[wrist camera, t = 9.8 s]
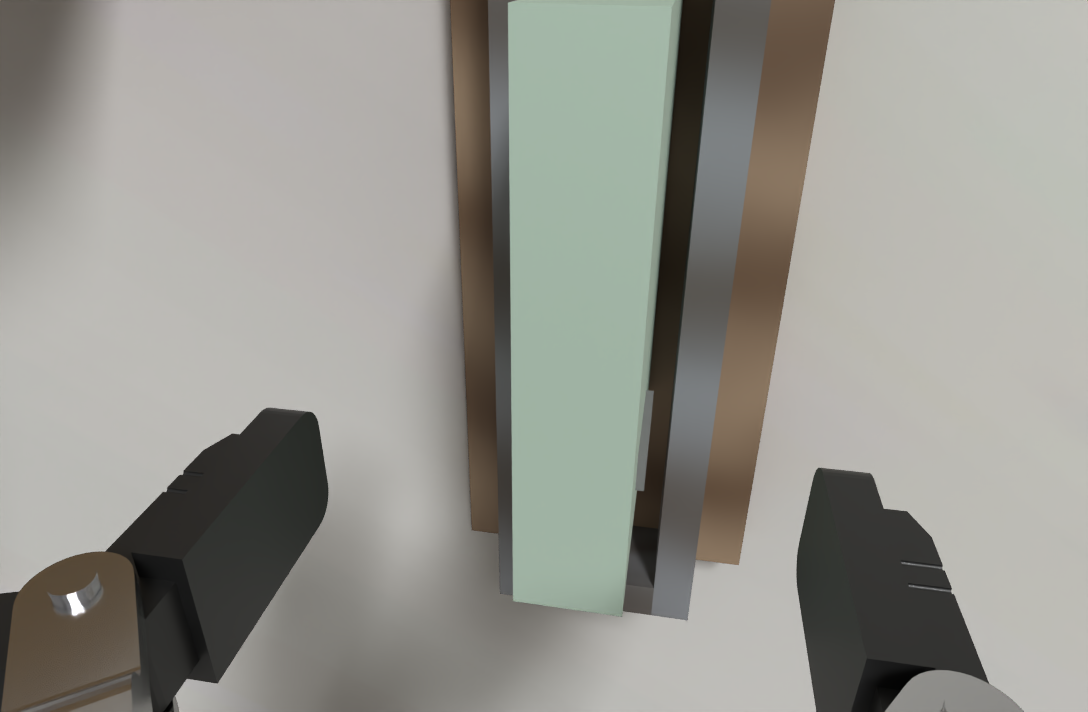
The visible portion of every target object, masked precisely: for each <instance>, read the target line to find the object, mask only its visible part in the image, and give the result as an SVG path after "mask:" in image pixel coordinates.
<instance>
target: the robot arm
mask: <svg viewBox="0 0 1088 712" xmlns="http://www.w3.org/2000/svg"><path fill="white" fill-rule="evenodd" d="M327 502H328V482H327V476H326V469H325V463H324V456H323V450H322V443H321V437H320V431H319V425H318V421H317V418H316V416H315V415H314V414H313V413H312V412H305V411H296V410H286V409H277V408H266V409H264V410H263V411H261V412H260V413H259V414H258V416H257V417H256V418H255V419H254V420H253V421H252V422H251V423H250V424H249V425H248V426H247V427H246V428H245V430H244V431H243V432H242V433H241V434H240V435H239V434H231V435H229V436H228V437H226V438H224V439H222V440H221V441H219V442H217V443H215V444H214V445H212V446H210V447H208V448H207V449H205V450H203V451H202V452H201V453H200V454H199V455H198V456H197V457H196V459H195V460H194V461H193V462H192V463H191V464H190V465H189V466H188V467H187V468H186V469H185V470H184V473H183V475H179V476H178V477H177V478H176V479H175V480H174V481H173V482H172V483H171V484H170V485H169V486H168V487H167V492H163V493H162V494H161V495H160V496H159V497H158V498H157V499H156V500H155V501H154V502H153V503H152V504H151V505H150V506H149V507H148V508H147V509H146V510H145V511H144V512H143V513H142V514H141V515H140V516H139V517H138V518H137V519H136V520H135V521H134V522H133V524H132V525H131V526H130V527H129V528H128V529H127V530H126V531H125V532H124V533H123V534H122V535H121V536H120V537H119V538H118V539H117V540H116V541H115V542H114V543H113V544H112V545H111V546H110V547H109V548H108V549H107V550H106V551H105V552H90V553H84V554H80V555H75V556H72V557H69V558H66V559H64V560H62V561H59V562H57V563H55V564H53V565H51V566H49V567H47V568H46V569H44V570H43V571H41V572H39V573H38V574H37V575H35V576H34V577H33V578H32V579H30V580H29V581H28V582H27V583H26V584H25V585H24V586H23V588H22V589H21V590H20V592H11V593H2V594H0V712H179V707H178V703H177V700H176V697H175V695H176V693H177V692H178V690H179V689H180V688H181V686H182V685H183V683H184V682H185V680H186V679H193V680H199V681H205V682H211V683H218V682H219V680H220V679H221V677H222V676H223V674H224V673H225V671H226V670H227V668H228V666H229V665H230V663H231V662H232V660H233V659H234V657H235V656H236V654H237V653H238V651H239V649H240V648H241V646H242V645H243V643H244V642H245V640H246V639H247V637H248V635H249V634H250V632H251V631H252V629H253V628H254V626H255V625H256V623H257V622H258V620H259V618H260V617H261V615H262V614H263V612H264V611H265V609H266V608H267V606H268V605H269V603H270V601H271V600H272V598H273V597H274V595H275V594H276V592H277V591H278V589H279V588H280V586H281V584H282V583H283V581H284V580H285V578H286V577H287V575H288V574H289V572H290V570H291V569H292V567H293V566H294V564H295V563H296V561H297V560H298V558H299V557H300V555H301V553H302V552H303V550H304V549H305V547H306V546H307V544H308V543H309V541H310V540H311V538H312V536H313V535H314V533H315V532H316V530H317V529H318V527H319V526H320V524H321V522H322V520H323V517H324V515H325V511H326V508H327ZM942 566H943V565H942V562H941V560H940V557H939V555H938V552H937V550H936V547H935V545H934V542H933V540H932V537H931V536H930V535H929V534H928V533H927V532H926V531H925V530H924V529H923V528H922V527H921V526H920V525H919V524H918V522H917V521H916V520H915V519H914V518H913V517H912V516H911V515H910V514H909V513H908V512H907V511H898V510H890V509H883V505H882V502H881V499H880V496H879V493H878V490H877V487H876V484H875V481H874V478H873V476H872V475H871V474H870V473H863V472H854V471H844V470H835V469H826V468H818V469H817V470H816V472H815V475H814V478H813V482H812V487H811V492H810V496H809V501H808V505H807V510H806V515H805V519H804V524H803V528H802V533H801V538H800V542H799V547H798V555H797V588H798V595H799V602H800V608H801V614H802V621H803V627H804V634H805V640H806V647H807V653H808V660H809V666H810V673H811V679H812V686H813V692H814V699H815V705H816V712H1024V711H1023V710H1022V709H1021V708H1020V707H1019V706H1018V705H1017V704H1016V703H1015V702H1014V701H1013V700H1012V699H1011V698H1009V697H1008V696H1007V695H1006V694H1004V693H1003V692H1001V691H1000V690H998V689H997V688H995V687H994V686H992V685H990V684H989V682H988V680H987V677H986V675H985V672H984V669H983V667H982V664H981V662H980V659H979V657H978V654H977V652H976V649H975V646H974V644H973V641H972V639H971V636H970V634H969V631H968V629H967V626H966V624H965V621H964V618H963V616H962V613H961V611H960V608H959V606H958V603H957V601H956V598H955V596H954V594H952V593H951V589H952V588H951V585H950V583H949V580H948V578H947V575H946V573H945V571H943V570H942Z"/></svg>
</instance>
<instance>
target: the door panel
mask: <svg viewBox="0 0 1088 712" xmlns="http://www.w3.org/2000/svg"><path fill="white" fill-rule="evenodd" d="M682 5H683V0H516V1H512V2H509V3H508V65H509V182H510V298H511V415H512V532H513V601H516V602H523V603H530V604H537V605H544V606H551V607H557V608H564V609H571V610H578V611H585V612H592V613H599V614H606V615H613V616H620V617H622V613H623V604H624V596H625V587H626V579H627V570H628V562H629V553H630V545H631V536H632V528H633V519H634V511H635V502H636V494H637V491H644V484H645V475H646V465H647V456H648V446H649V437H650V427H651V417H652V406H653V395H654V391H650V390H649V381H650V370H651V359H652V347H653V336H654V324H655V313H656V302H657V290H658V279H659V267H660V256H661V244H662V233H663V222H664V210H665V199H666V187H667V176H668V164H669V153H670V142H671V130H672V119H673V107H674V96H675V85H676V73H677V62H678V50H679V39H680V27H681V16H682Z"/></svg>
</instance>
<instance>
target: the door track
mask: <svg viewBox="0 0 1088 712" xmlns="http://www.w3.org/2000/svg"><path fill="white" fill-rule="evenodd" d="M512 1H516V0H450V9H451V34H452V58H453V83H454V107H455V131H456V156H457V180H458V205H459V229H460V254H461V278H462V302H463V327H464V351H465V376H466V400H467V424H468V449H469V473H470V498H471V522H472V530H474V531H482V532H489V533H497V534H499V572H500V594H507V595H513V532H512V415H511V298H510V182H509V65H508V3H509V2H512ZM834 3H835V0H683V5H682V16H681V27H680V39H679V50H678V62H677V73H676V85H675V96H674V107H673V119H672V130H671V142H670V153H669V164H668V176H667V187H666V199H665V210H664V222H663V233H662V244H661V256H660V267H659V279H658V290H657V302H656V313H655V324H654V336H653V347H652V359H651V370H650V381H649V390H650V391H654V395H653V406H652V417H651V427H650V437H649V446H648V456H647V465H646V475H645V484H644V491H637V494H636V502H635V511H634V519H633V528H632V536H631V545H630V553H629V562H628V570H627V579H626V587H625V596H624V604H623V611H626V612H633V613H640V614H647V615H654V616H661V617H668V618H675V619H682V620H687V619H688V612H689V604H690V597H691V589H692V582H693V575H694V567H695V560H704V561H712V562H719V563H727V564H735V565H739V560H740V554H741V548H742V542H743V537H744V531H745V525H746V519H747V513H748V507H749V501H750V495H751V490H752V484H753V478H754V472H755V466H756V460H757V454H758V449H759V443H760V437H761V431H762V425H763V419H764V413H765V407H766V402H767V396H768V390H769V384H770V378H771V372H772V366H773V361H774V355H775V349H776V343H777V337H778V331H779V325H780V320H781V314H782V308H783V302H784V296H785V290H786V284H787V278H788V273H789V267H790V261H791V255H792V249H793V243H794V237H795V232H796V226H797V220H798V214H799V208H800V202H801V196H802V190H803V185H804V179H805V173H806V167H807V161H808V155H809V149H810V144H811V138H812V132H813V126H814V120H815V114H816V108H817V102H818V97H819V91H820V85H821V79H822V73H823V67H824V61H825V56H826V50H827V44H828V38H829V32H830V26H831V20H832V15H833V9H834Z"/></svg>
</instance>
